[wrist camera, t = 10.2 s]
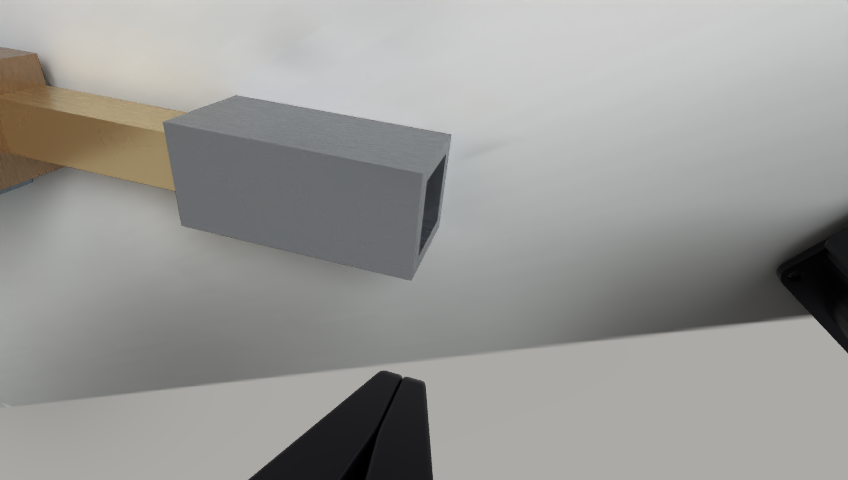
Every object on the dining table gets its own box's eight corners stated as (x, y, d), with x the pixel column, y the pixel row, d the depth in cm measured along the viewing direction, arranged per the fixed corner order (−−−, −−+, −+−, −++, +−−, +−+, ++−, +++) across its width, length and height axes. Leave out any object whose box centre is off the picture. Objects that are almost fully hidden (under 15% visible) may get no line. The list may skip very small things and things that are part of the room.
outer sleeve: (451, 134, 20) (423, 173, 16) (438, 226, 22) (411, 280, 18) (236, 95, 21) (162, 121, 17) (245, 184, 23) (181, 225, 20)
